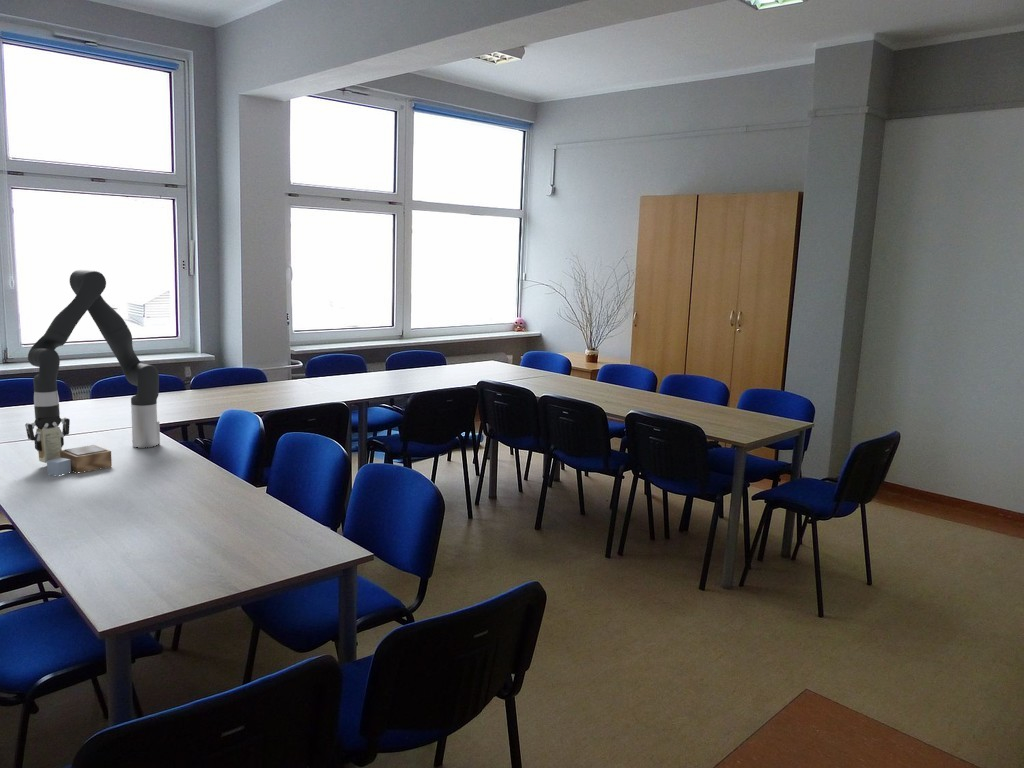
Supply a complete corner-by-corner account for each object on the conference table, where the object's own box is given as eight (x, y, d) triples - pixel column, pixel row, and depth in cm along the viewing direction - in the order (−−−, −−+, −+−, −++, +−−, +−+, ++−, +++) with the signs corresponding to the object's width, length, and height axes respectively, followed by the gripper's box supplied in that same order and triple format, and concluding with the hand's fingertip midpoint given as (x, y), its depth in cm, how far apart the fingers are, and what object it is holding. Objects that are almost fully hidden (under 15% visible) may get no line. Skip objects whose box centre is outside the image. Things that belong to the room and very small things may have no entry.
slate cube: (60, 471, 265) (59, 457, 264) (71, 473, 264) (70, 459, 263) (47, 474, 261) (46, 460, 260) (58, 476, 259) (57, 462, 258)
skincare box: (56, 457, 274) (54, 424, 272) (62, 459, 272) (60, 426, 270) (37, 461, 269) (35, 427, 267) (44, 463, 267) (42, 429, 265)
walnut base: (95, 460, 280) (94, 444, 278) (111, 467, 273) (111, 449, 272) (60, 467, 270) (59, 449, 269) (77, 473, 263) (76, 455, 262)
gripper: (63, 399, 275) (66, 443, 278) (19, 404, 263) (22, 451, 266) (73, 402, 271) (75, 447, 273) (29, 408, 259) (32, 455, 262)
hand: (49, 448), depth 270 cm, fingers closed on skincare box, 6 cm apart
